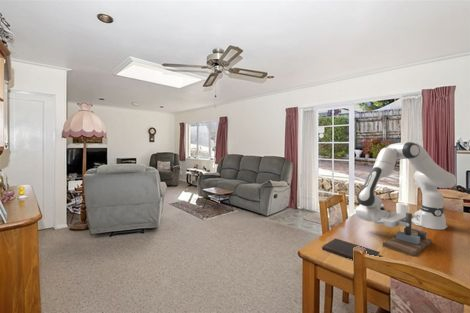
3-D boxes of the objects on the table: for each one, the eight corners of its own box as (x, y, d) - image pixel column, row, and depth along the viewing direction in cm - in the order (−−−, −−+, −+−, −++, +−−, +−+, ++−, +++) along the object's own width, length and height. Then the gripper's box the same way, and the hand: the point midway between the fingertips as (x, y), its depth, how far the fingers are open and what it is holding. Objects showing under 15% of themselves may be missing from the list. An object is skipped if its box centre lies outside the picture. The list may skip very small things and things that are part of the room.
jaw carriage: (417, 244, 125) (418, 216, 124) (396, 238, 133) (397, 212, 133) (419, 242, 127) (421, 215, 127) (399, 236, 136) (400, 211, 135)
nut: (404, 236, 137) (405, 229, 137) (414, 237, 136) (414, 230, 136) (409, 239, 132) (410, 233, 132) (419, 240, 131) (419, 233, 131)
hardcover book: (335, 242, 135) (335, 238, 135) (379, 256, 118) (379, 251, 118) (321, 250, 124) (322, 246, 124) (368, 267, 107) (368, 262, 107)
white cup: (409, 218, 178) (410, 205, 177) (397, 216, 180) (397, 204, 180) (405, 215, 185) (406, 202, 185) (394, 214, 188) (394, 202, 187)
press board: (412, 256, 117) (413, 244, 116) (382, 246, 128) (383, 235, 128) (431, 242, 132) (431, 232, 132) (403, 235, 144) (403, 225, 144)
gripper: (375, 215, 135) (403, 222, 123) (390, 210, 146) (417, 215, 135) (375, 226, 135) (402, 233, 123) (390, 219, 146) (416, 226, 135)
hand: (410, 224), depth 129 cm, fingers closed on jaw carriage, 3 cm apart
